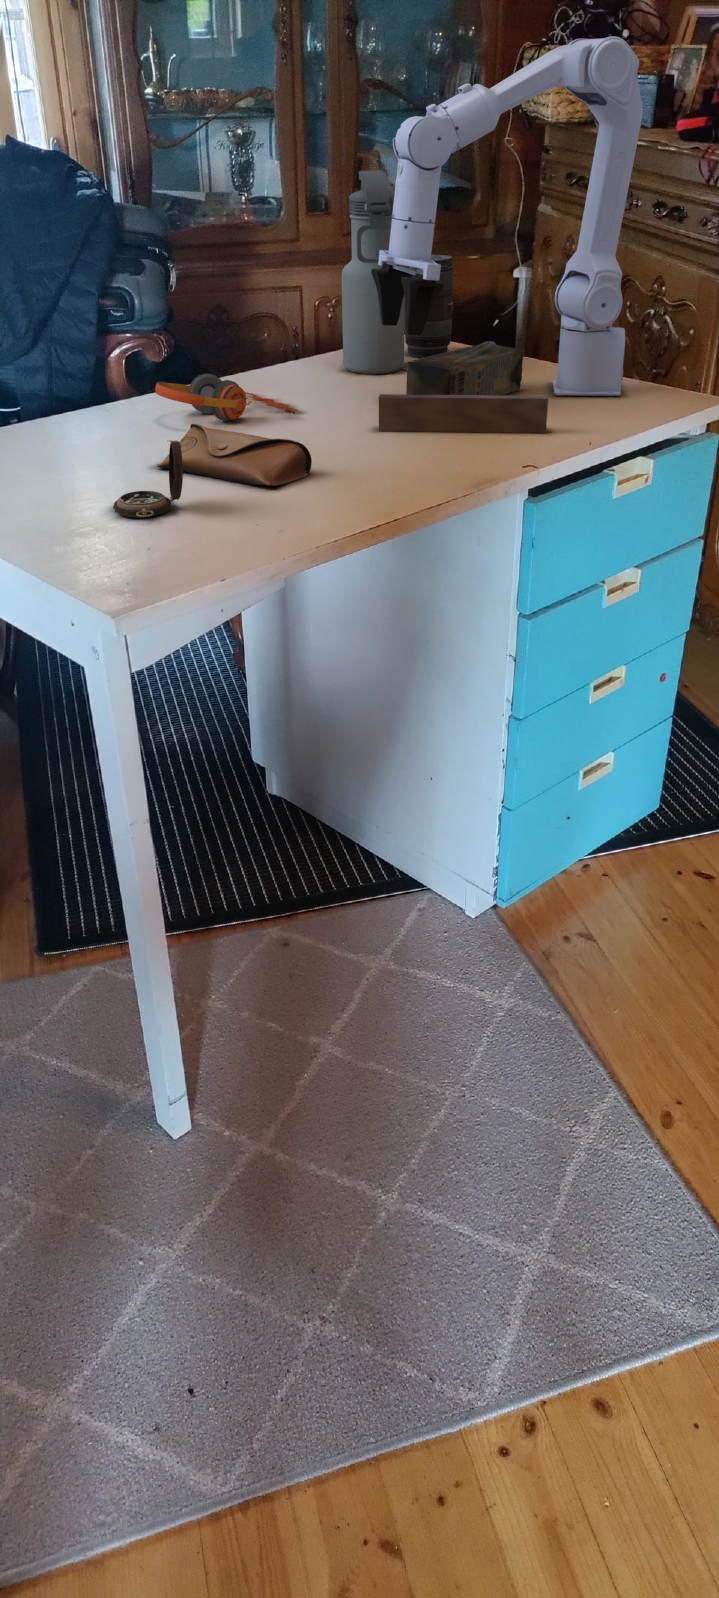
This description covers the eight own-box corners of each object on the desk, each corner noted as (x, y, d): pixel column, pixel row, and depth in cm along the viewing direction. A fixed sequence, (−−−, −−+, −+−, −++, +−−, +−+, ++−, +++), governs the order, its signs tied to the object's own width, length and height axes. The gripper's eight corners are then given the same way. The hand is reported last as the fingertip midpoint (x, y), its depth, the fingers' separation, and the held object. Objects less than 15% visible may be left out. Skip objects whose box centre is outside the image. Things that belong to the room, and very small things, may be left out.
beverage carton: (524, 390, 176) (527, 343, 173) (448, 416, 164) (449, 366, 160) (480, 383, 181) (481, 337, 177) (402, 408, 168) (403, 359, 165)
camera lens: (427, 347, 205) (428, 252, 197) (461, 353, 200) (464, 256, 192) (393, 354, 200) (393, 257, 193) (427, 361, 195) (428, 261, 187)
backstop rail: (545, 430, 157) (547, 395, 155) (545, 433, 156) (548, 398, 153) (379, 428, 159) (379, 394, 157) (378, 431, 158) (378, 397, 155)
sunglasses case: (150, 465, 143) (163, 410, 143) (184, 482, 149) (197, 429, 149) (273, 487, 135) (287, 429, 135) (303, 503, 141) (317, 448, 141)
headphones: (249, 411, 178) (130, 400, 165) (254, 374, 176) (133, 360, 163) (314, 434, 166) (191, 424, 154) (321, 395, 164) (196, 381, 152)
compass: (112, 504, 132) (104, 438, 128) (183, 498, 134) (177, 432, 130) (116, 527, 125) (107, 457, 122) (191, 520, 127) (185, 452, 123)
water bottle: (409, 374, 187) (411, 173, 172) (347, 376, 186) (344, 175, 171) (398, 361, 195) (399, 168, 181) (339, 363, 194) (335, 170, 180)
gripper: (363, 212, 161) (353, 319, 167) (411, 224, 149) (398, 338, 156) (409, 216, 163) (397, 321, 170) (460, 228, 152) (445, 340, 159)
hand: (401, 329), depth 163 cm, fingers open, 7 cm apart
